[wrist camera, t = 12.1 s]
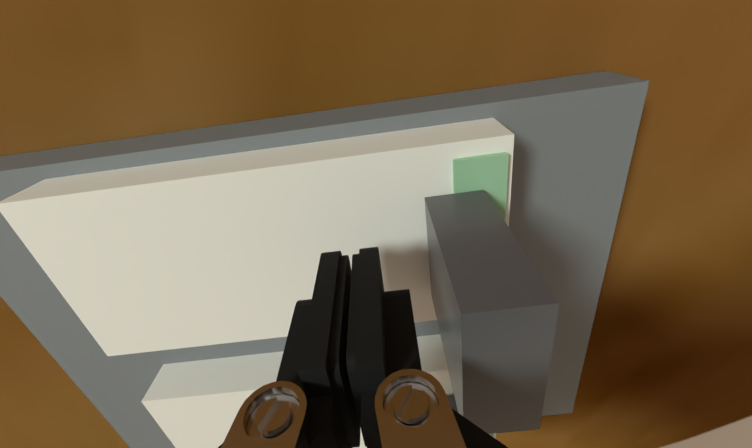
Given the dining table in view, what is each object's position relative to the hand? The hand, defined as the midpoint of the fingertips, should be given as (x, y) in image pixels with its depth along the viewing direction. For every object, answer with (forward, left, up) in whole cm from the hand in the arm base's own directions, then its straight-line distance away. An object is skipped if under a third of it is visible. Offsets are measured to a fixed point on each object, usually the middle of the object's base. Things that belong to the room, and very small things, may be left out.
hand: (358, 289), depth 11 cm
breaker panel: (+5, -3, -6) cm, 9 cm away
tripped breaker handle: (0, +3, -2) cm, 4 cm away
